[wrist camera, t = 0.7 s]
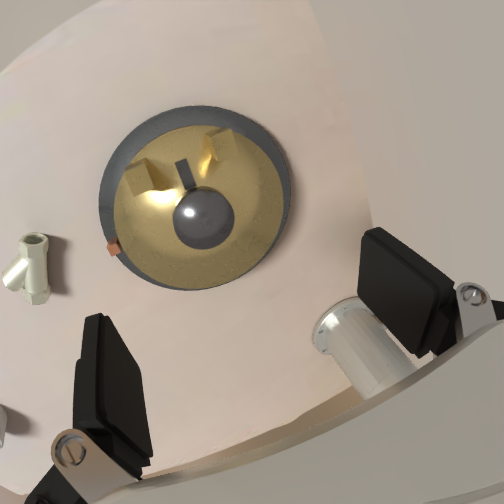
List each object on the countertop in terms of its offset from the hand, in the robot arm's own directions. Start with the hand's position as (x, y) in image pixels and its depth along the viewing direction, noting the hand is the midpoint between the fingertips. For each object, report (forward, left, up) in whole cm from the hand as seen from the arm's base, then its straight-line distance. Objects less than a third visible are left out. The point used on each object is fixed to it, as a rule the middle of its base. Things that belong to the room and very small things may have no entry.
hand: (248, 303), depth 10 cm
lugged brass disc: (-3, +4, -24) cm, 24 cm away
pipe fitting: (+18, +14, -26) cm, 35 cm away
